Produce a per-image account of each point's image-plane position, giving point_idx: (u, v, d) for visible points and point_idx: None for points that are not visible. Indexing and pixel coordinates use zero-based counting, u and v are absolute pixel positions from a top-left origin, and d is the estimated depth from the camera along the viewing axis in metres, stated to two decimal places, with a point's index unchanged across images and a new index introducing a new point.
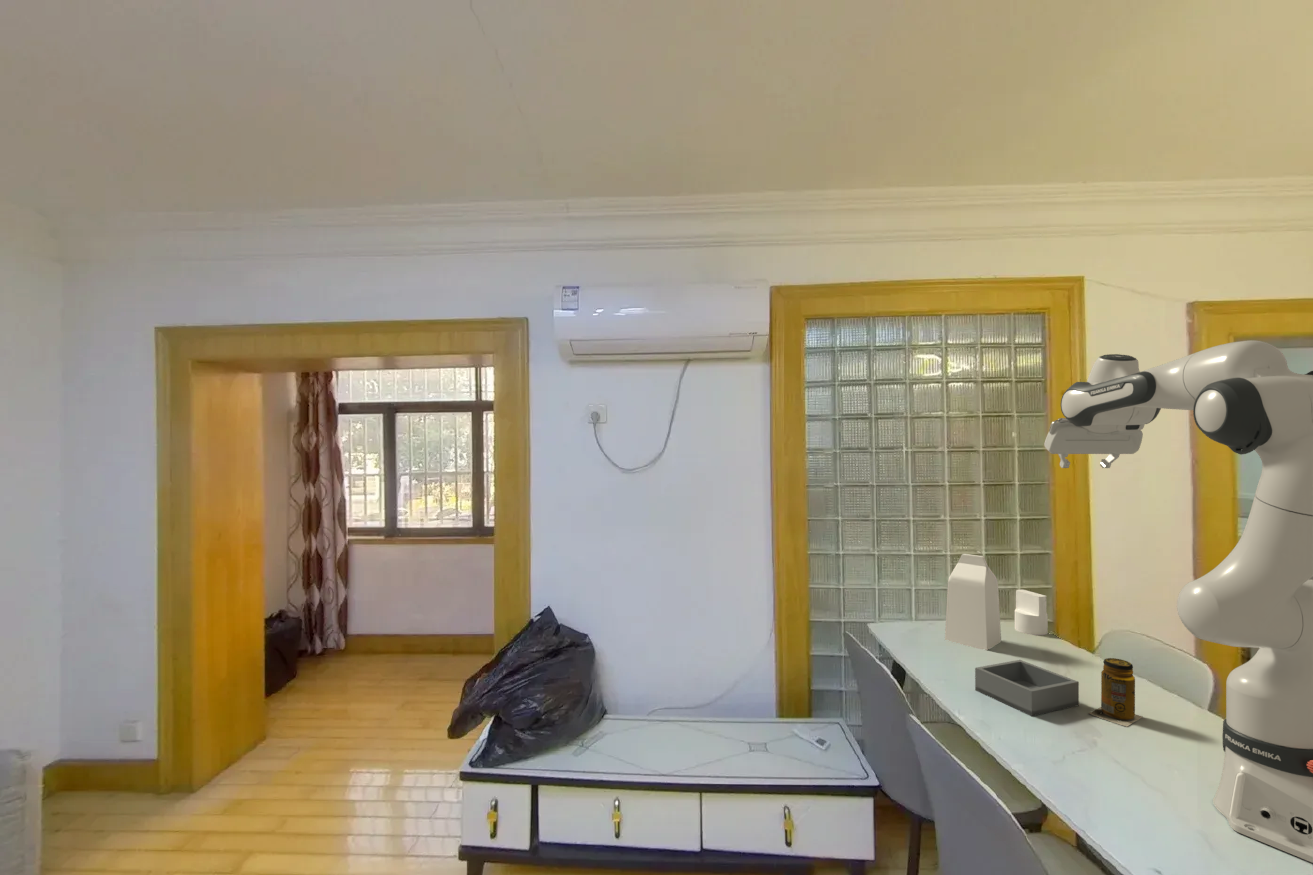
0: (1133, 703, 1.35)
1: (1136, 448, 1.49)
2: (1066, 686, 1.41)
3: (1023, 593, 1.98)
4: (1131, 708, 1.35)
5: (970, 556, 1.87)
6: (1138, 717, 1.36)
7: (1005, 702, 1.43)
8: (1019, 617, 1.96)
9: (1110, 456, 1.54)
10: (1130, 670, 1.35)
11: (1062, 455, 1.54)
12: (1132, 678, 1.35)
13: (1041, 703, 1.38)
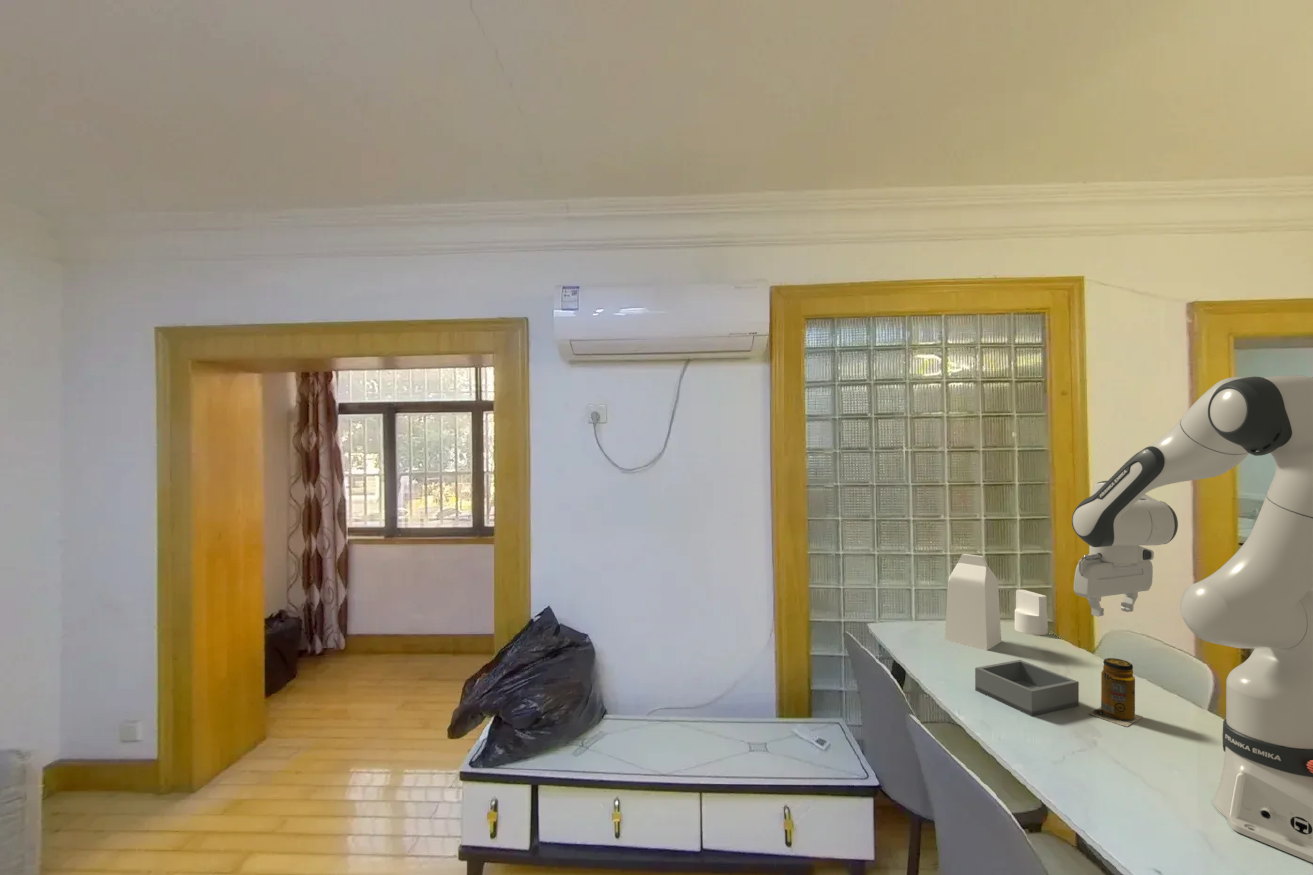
0: (1133, 703, 1.35)
1: (1150, 583, 1.40)
2: (1066, 686, 1.41)
3: (1023, 593, 1.98)
4: (1131, 708, 1.35)
5: (970, 556, 1.87)
6: (1138, 717, 1.36)
7: (1005, 702, 1.43)
8: (1019, 617, 1.96)
9: (1128, 597, 1.41)
10: (1130, 670, 1.35)
11: (1096, 599, 1.36)
12: (1132, 678, 1.35)
13: (1041, 703, 1.38)
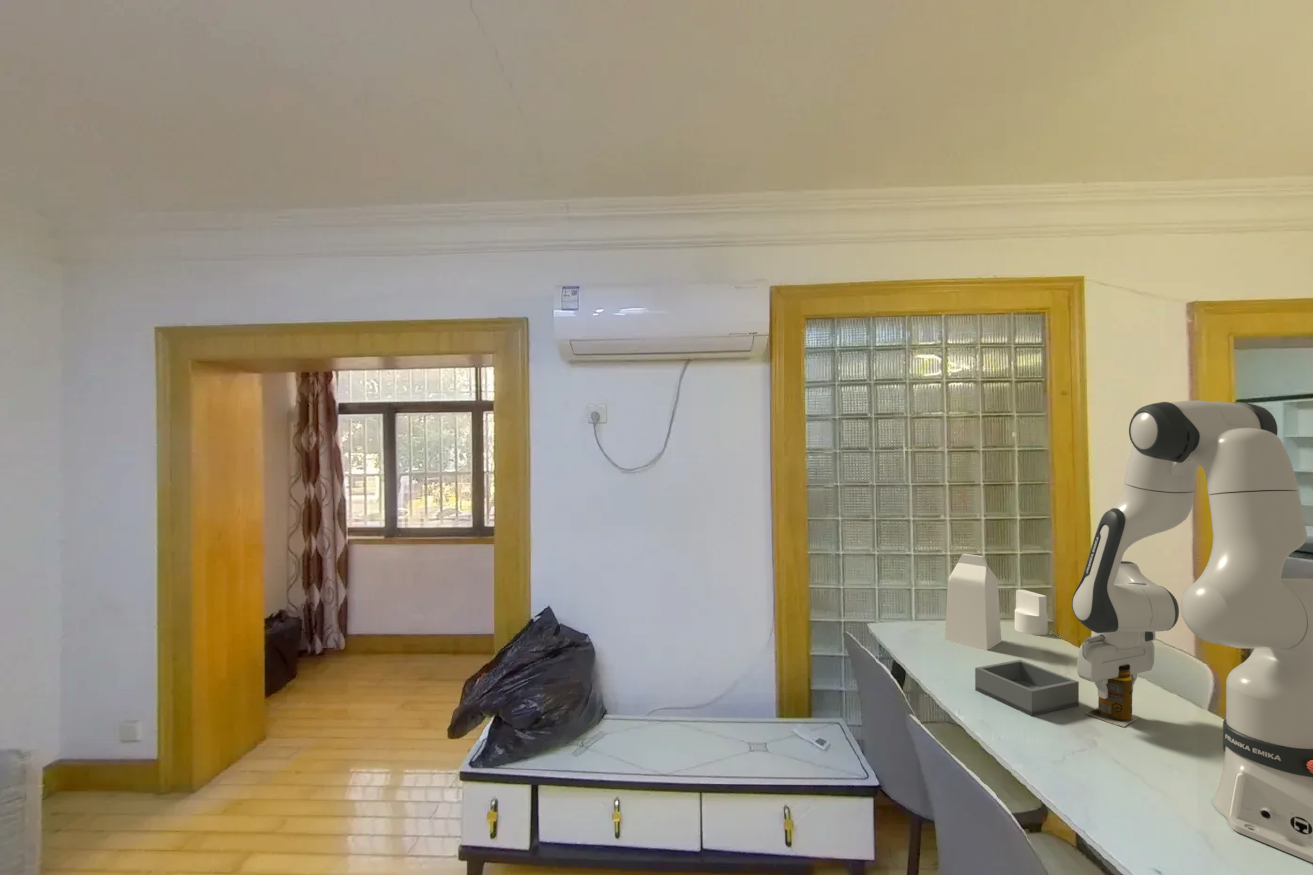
0: (1131, 704, 1.35)
1: (1152, 663, 1.39)
2: (1066, 686, 1.41)
3: (1023, 593, 1.98)
4: (1128, 708, 1.35)
5: (970, 556, 1.87)
6: (1135, 717, 1.36)
7: (1005, 702, 1.43)
8: (1019, 617, 1.96)
9: None
10: (1127, 670, 1.35)
11: (1103, 682, 1.35)
12: (1129, 678, 1.35)
13: (1041, 703, 1.38)
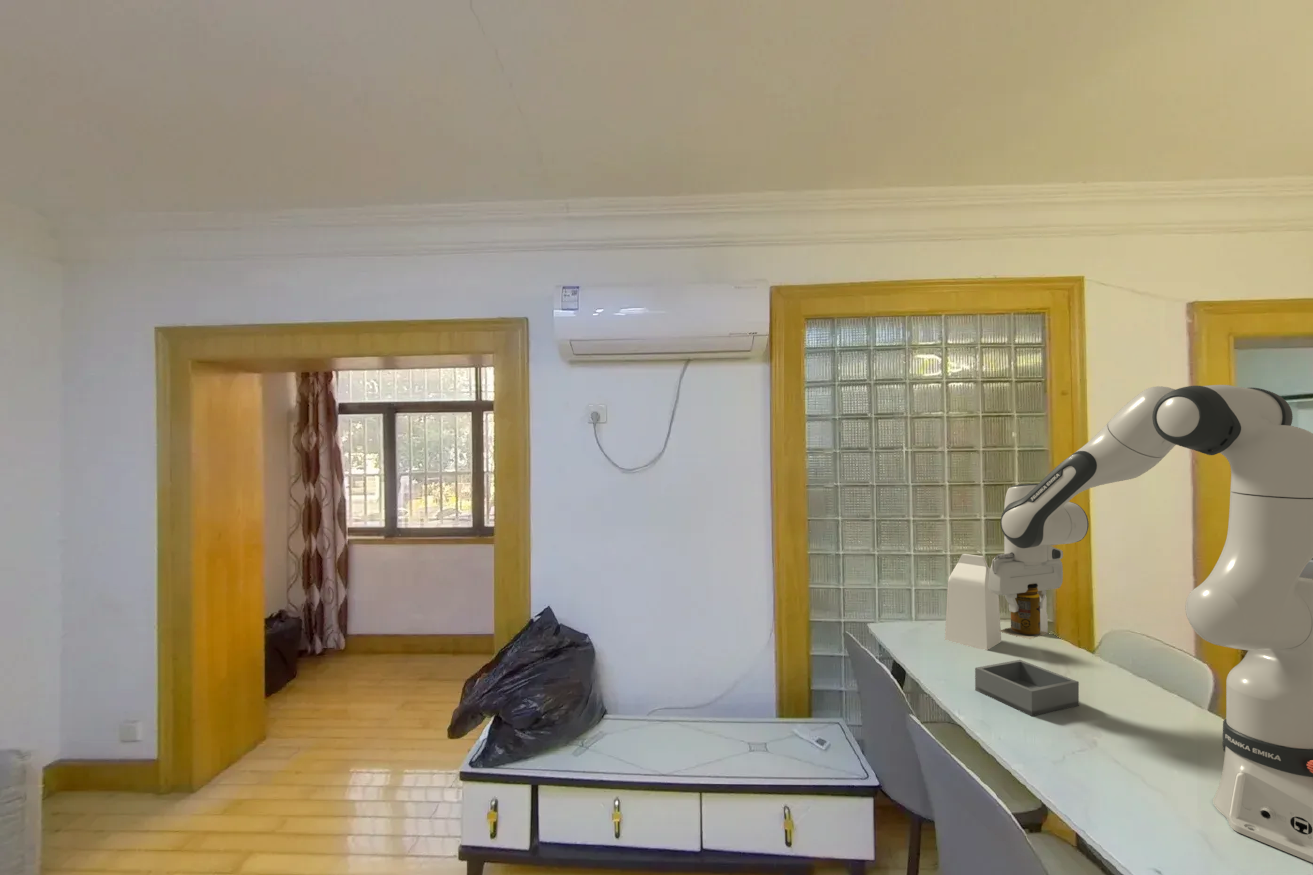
0: (1038, 619, 1.44)
1: (1060, 581, 1.48)
2: (1066, 686, 1.41)
3: None
4: (1036, 623, 1.44)
5: (970, 556, 1.87)
6: (1044, 633, 1.46)
7: (1005, 702, 1.43)
8: None
9: None
10: (1034, 588, 1.45)
11: (1012, 596, 1.44)
12: (1036, 596, 1.45)
13: (1041, 703, 1.38)
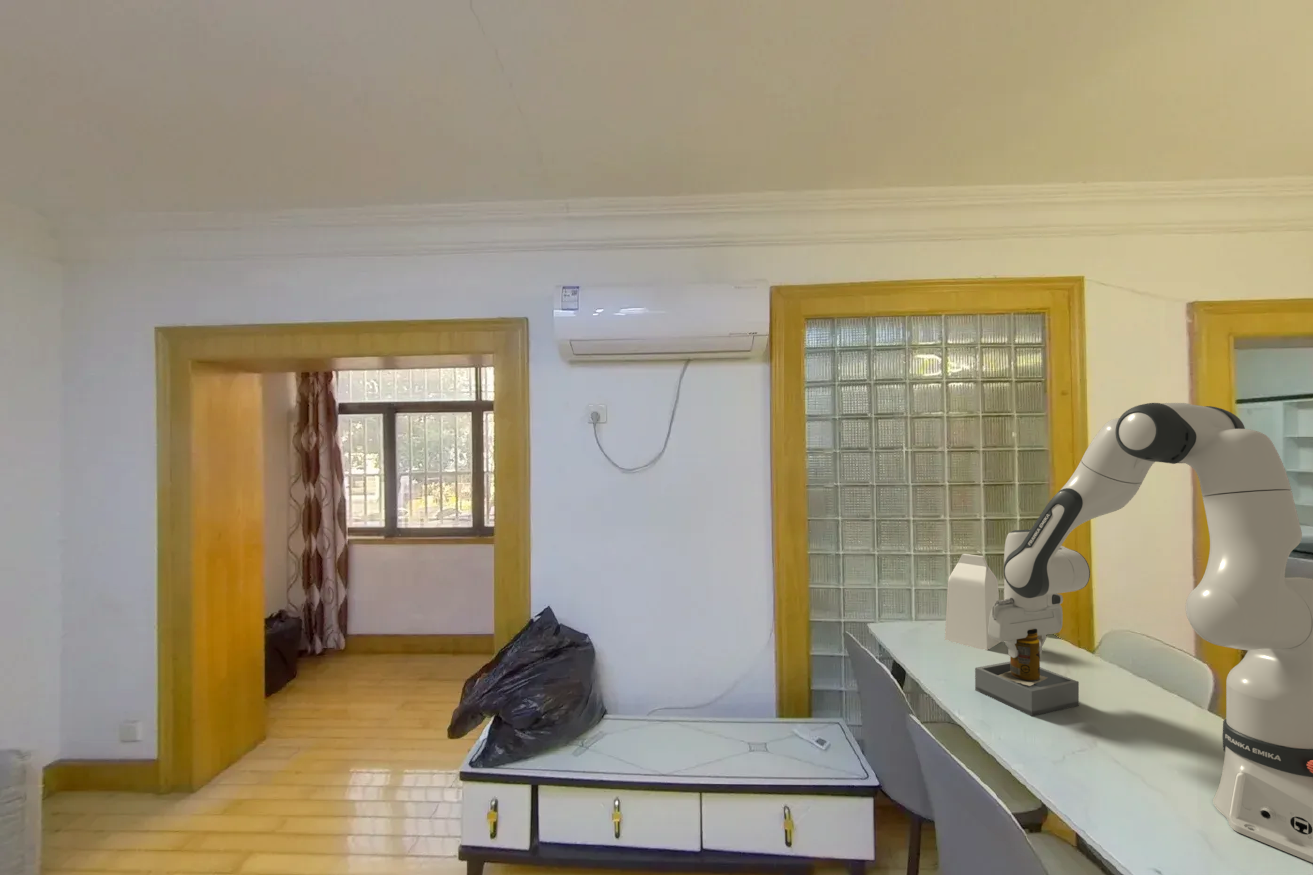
0: (1038, 665, 1.45)
1: (1060, 625, 1.48)
2: (1066, 686, 1.41)
3: None
4: (1035, 669, 1.44)
5: (970, 556, 1.87)
6: (1043, 678, 1.46)
7: (1005, 702, 1.43)
8: None
9: None
10: (1034, 634, 1.45)
11: (1012, 642, 1.44)
12: (1036, 641, 1.45)
13: (1041, 703, 1.38)
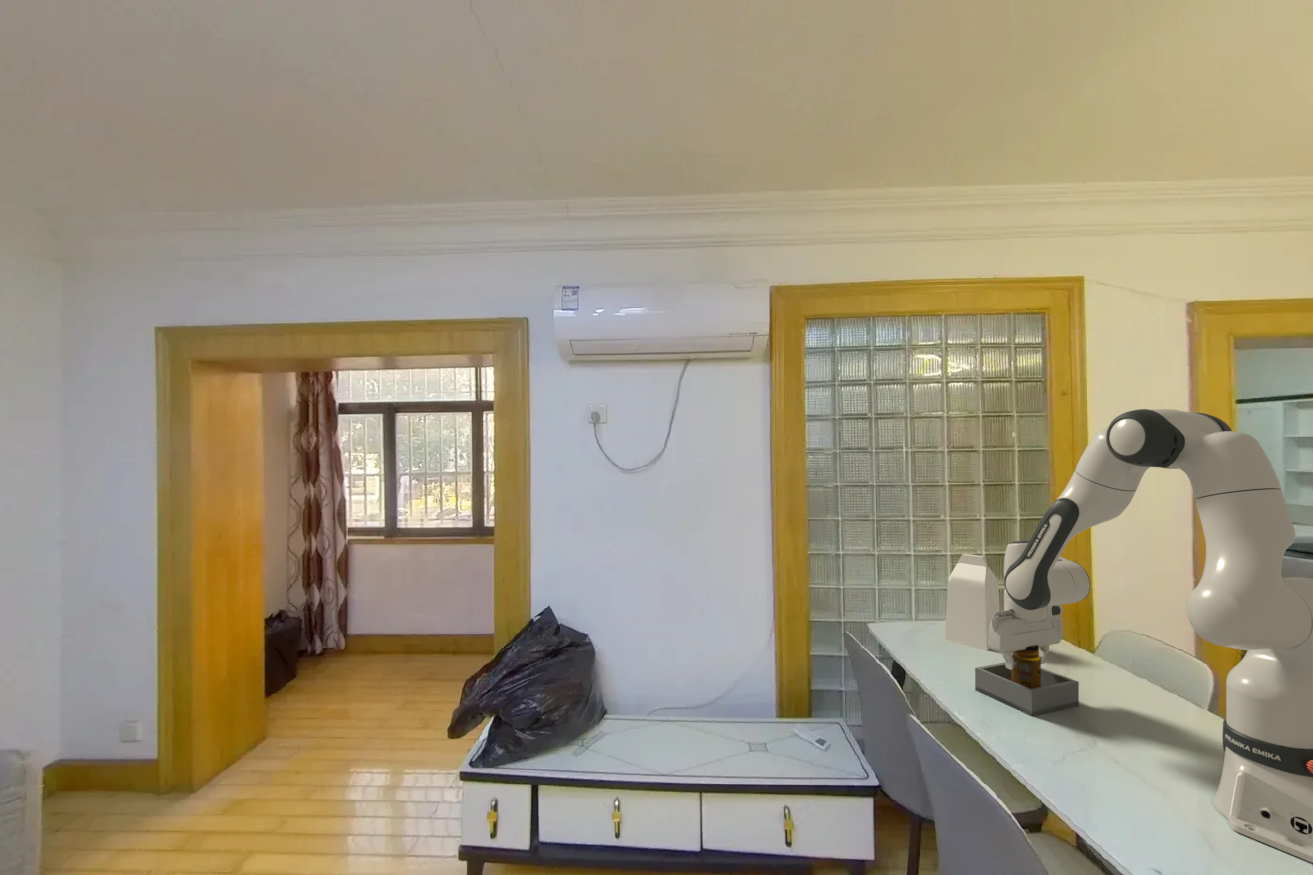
0: (1039, 682, 1.44)
1: (1060, 636, 1.48)
2: (1066, 686, 1.41)
3: None
4: (1036, 686, 1.44)
5: (970, 556, 1.87)
6: None
7: (1005, 702, 1.43)
8: None
9: (1040, 650, 1.49)
10: (1036, 651, 1.44)
11: (1009, 654, 1.44)
12: (1037, 658, 1.44)
13: (1041, 703, 1.38)
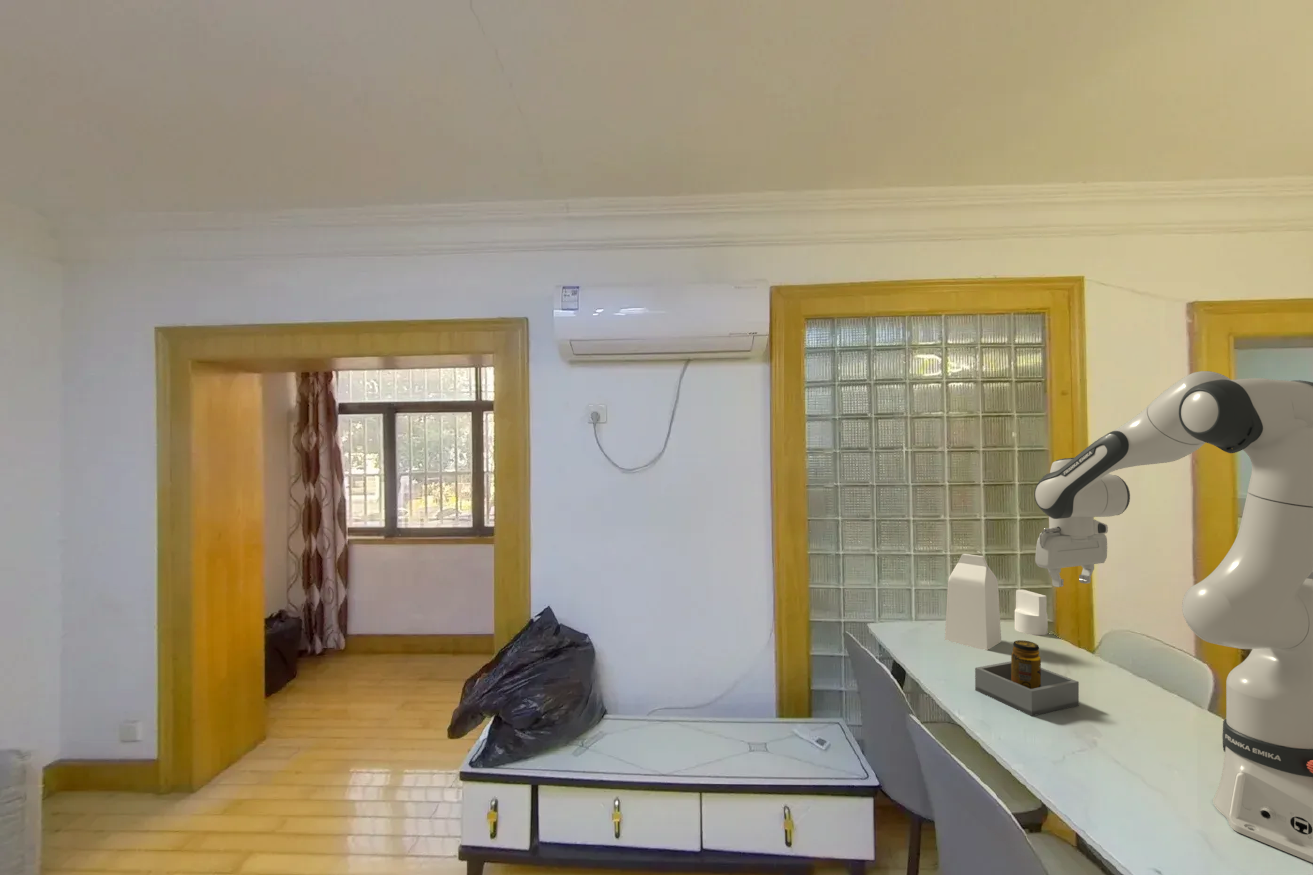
0: (1039, 682, 1.44)
1: (1105, 555, 1.48)
2: (1066, 686, 1.41)
3: (1023, 593, 1.98)
4: (1036, 686, 1.44)
5: (970, 556, 1.87)
6: None
7: (1005, 702, 1.43)
8: (1019, 617, 1.96)
9: (1085, 570, 1.49)
10: (1036, 651, 1.44)
11: (1057, 570, 1.43)
12: (1037, 658, 1.44)
13: (1041, 703, 1.38)
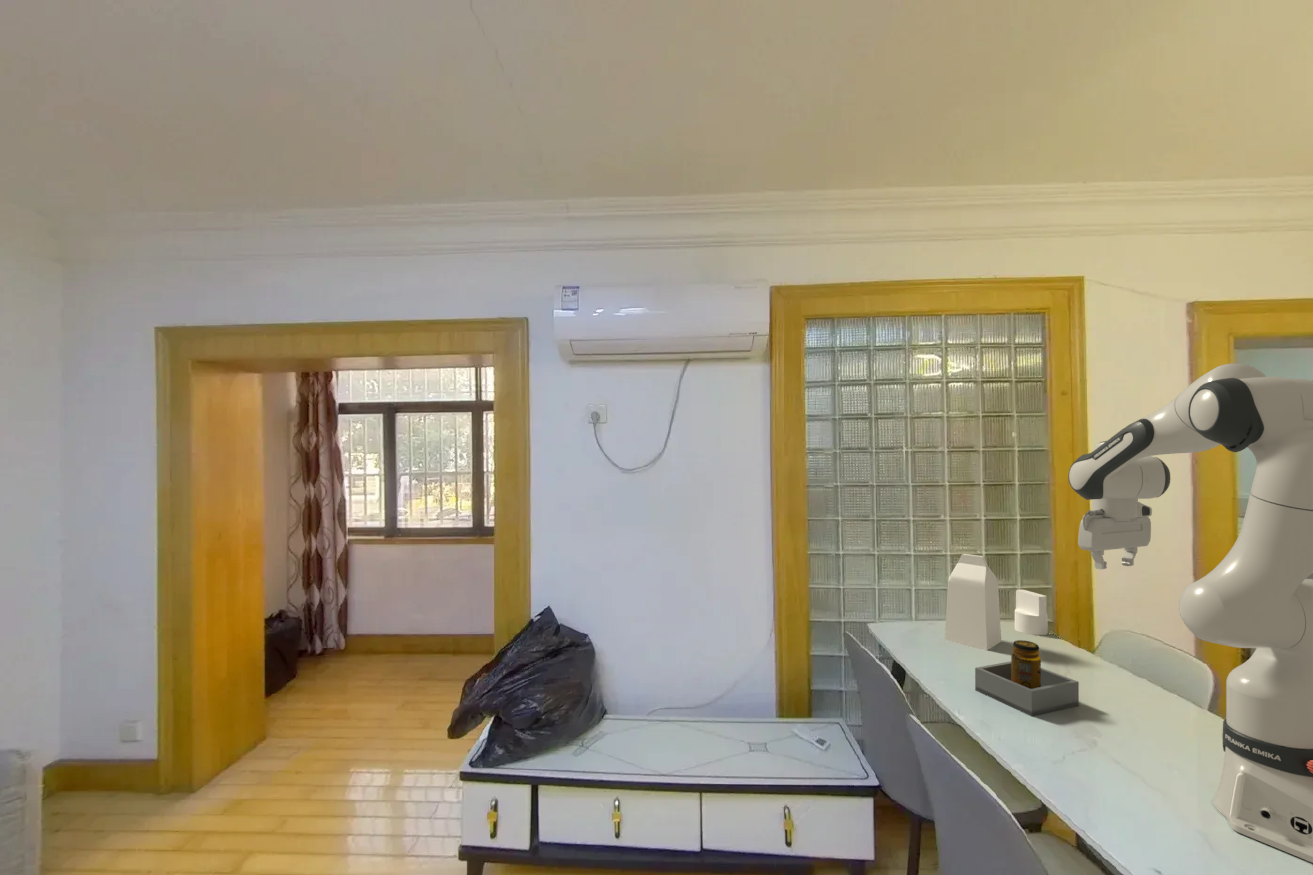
0: (1039, 682, 1.44)
1: (1149, 538, 1.47)
2: (1066, 686, 1.41)
3: (1023, 593, 1.98)
4: (1036, 686, 1.44)
5: (970, 556, 1.87)
6: None
7: (1005, 702, 1.43)
8: (1019, 617, 1.96)
9: (1128, 553, 1.48)
10: (1036, 651, 1.44)
11: (1100, 553, 1.43)
12: (1037, 658, 1.44)
13: (1041, 703, 1.38)
